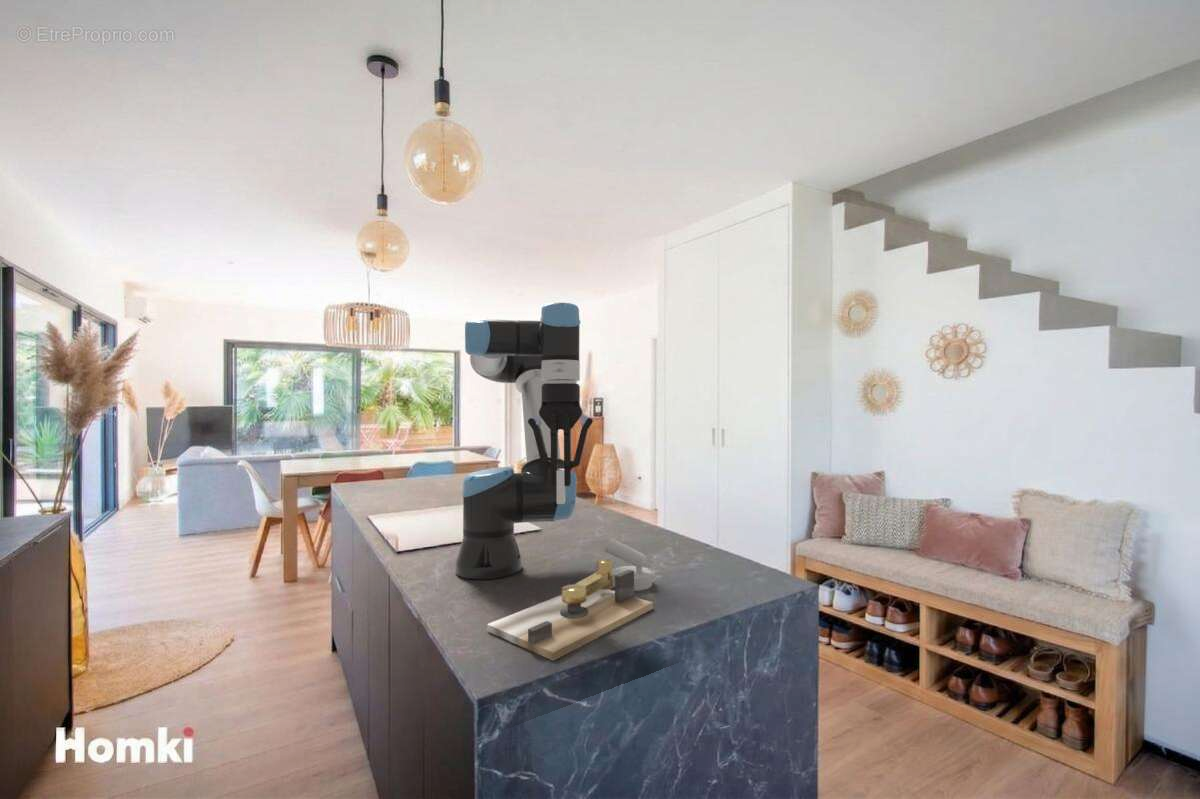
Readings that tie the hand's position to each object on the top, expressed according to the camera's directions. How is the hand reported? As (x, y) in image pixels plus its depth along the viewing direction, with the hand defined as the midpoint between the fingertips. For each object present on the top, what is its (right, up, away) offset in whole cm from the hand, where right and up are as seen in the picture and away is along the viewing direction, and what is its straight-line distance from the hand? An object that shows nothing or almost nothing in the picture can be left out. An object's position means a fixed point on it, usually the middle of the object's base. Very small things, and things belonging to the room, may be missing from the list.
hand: (561, 502), depth 103 cm
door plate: (+3, -19, -10) cm, 22 cm away
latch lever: (+6, -17, -5) cm, 18 cm away
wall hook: (+14, -19, +9) cm, 25 cm away
